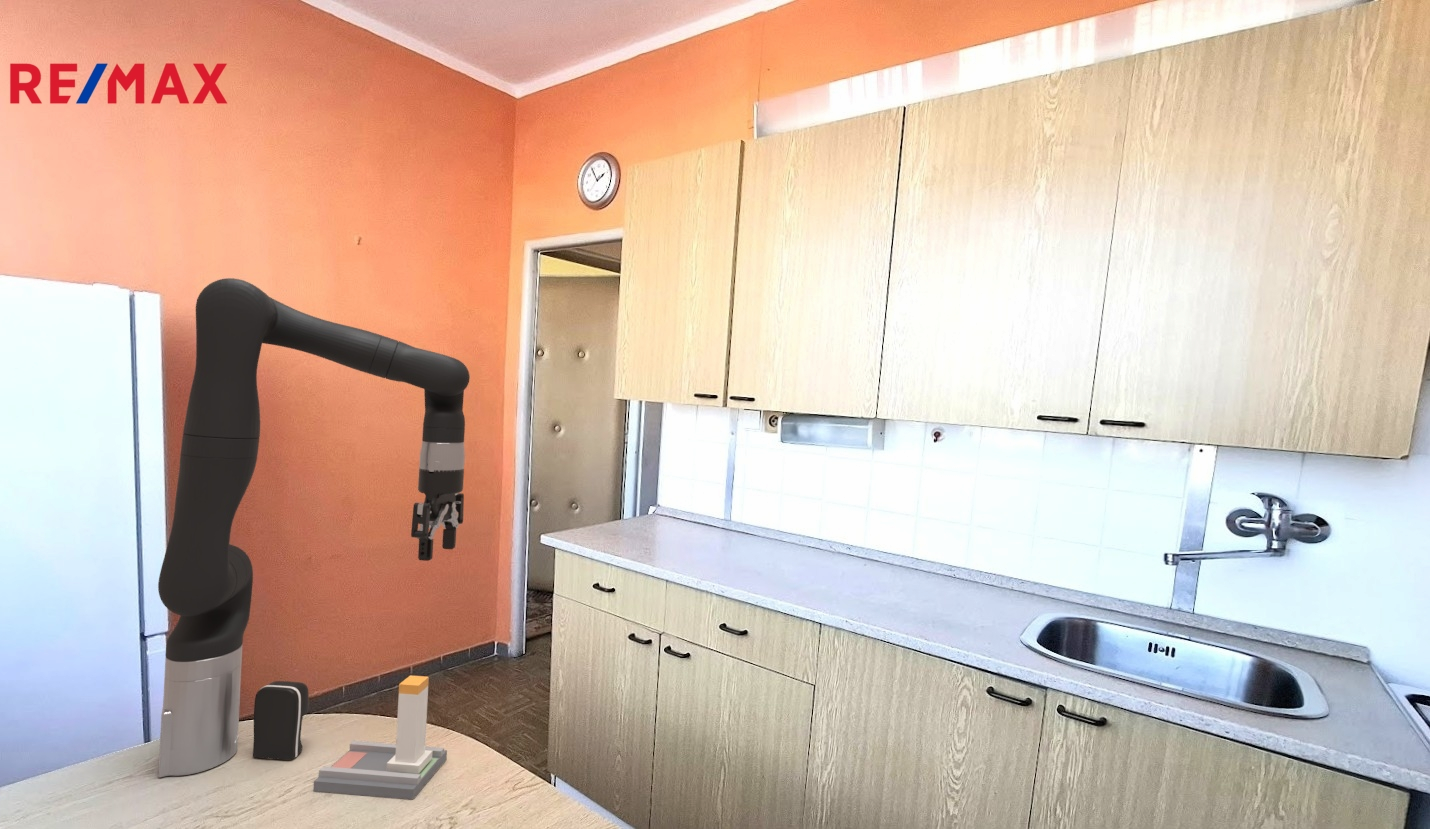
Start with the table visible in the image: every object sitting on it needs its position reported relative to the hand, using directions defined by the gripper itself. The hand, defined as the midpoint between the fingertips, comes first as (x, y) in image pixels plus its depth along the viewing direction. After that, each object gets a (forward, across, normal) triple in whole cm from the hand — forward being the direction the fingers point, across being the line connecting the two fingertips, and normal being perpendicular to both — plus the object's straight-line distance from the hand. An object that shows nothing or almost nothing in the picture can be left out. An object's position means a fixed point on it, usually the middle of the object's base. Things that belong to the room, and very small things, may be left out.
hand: (437, 554), depth 109 cm
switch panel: (+30, +17, +2) cm, 35 cm away
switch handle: (+28, +17, +6) cm, 34 cm away
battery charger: (+30, +14, -17) cm, 37 cm away
